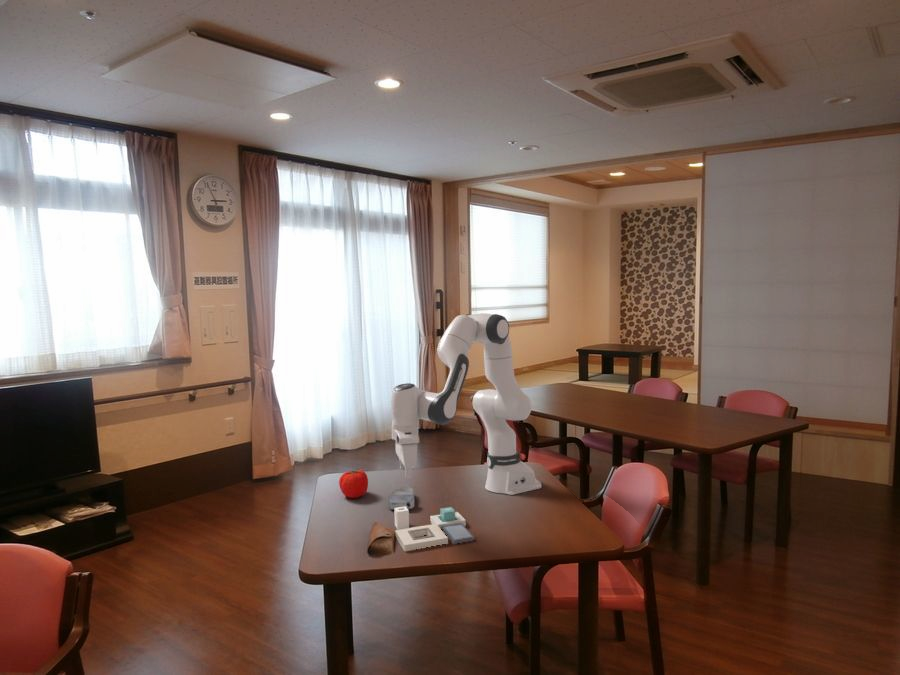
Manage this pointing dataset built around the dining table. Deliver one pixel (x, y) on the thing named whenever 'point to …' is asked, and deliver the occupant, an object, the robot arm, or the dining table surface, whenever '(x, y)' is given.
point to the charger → (401, 517)
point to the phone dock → (454, 528)
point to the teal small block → (447, 514)
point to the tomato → (354, 483)
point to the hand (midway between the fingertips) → (405, 473)
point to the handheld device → (402, 498)
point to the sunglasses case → (381, 540)
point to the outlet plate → (432, 539)
